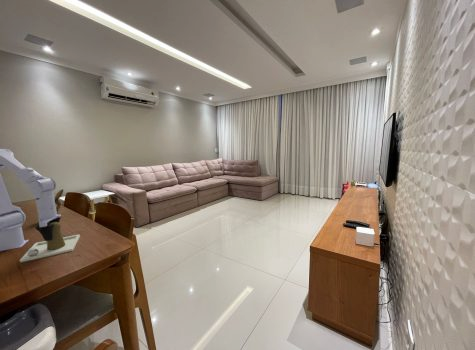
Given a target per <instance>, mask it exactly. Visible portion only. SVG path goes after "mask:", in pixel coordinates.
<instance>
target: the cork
mask: <svg viewBox="0 0 475 350" xmlns="http://www.w3.org/2000/svg"><path fill="white" fill-rule="evenodd" d="M49 224H55V225H54V228H53V239H52V240H50V241H47V250H56V249H59V248H62V247H64V246H65V242H64V239H63V237H64V236H63V234H62V231H61V228H62V224H61V223H60V221H59V222H53V223H49Z"/></svg>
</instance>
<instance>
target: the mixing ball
mask: <svg viewBox="0 0 475 350" xmlns="http://www.w3.org/2000/svg"><path fill="white" fill-rule="evenodd" d="M27 252H28V253H27ZM27 252H26V253H27V255H28V256H29V257H32V256H36V255H37V254H38V252H39V251H38V249H35V248H34V249H31V250H29V249H28V250H27Z"/></svg>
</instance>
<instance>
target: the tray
mask: <svg viewBox="0 0 475 350" xmlns="http://www.w3.org/2000/svg"><path fill="white" fill-rule="evenodd" d="M80 234H81V233H80ZM80 234H75V235H74V234H73V235H69V236H65V237H64V236H63V239H64V242H65V246H64V247H62V248H59V249H56V250H47V241H45V240H43V241H39V242H35V243H34V244H33V245H32V246H31V247H30V248H29V249H28V251H29V250H31V249H34V248H35V249H38V251H39V252H38V254H37V255H36V256H32V257H29V256H28V255H27V253H28V251H26V253H25V254H24V255H23V256H21V258H20V259H19V263H25V262H28V261H34V260H37V259H41V258H42V259H43V258H46V257H51V256H55V255H59V254H65V253H69V252H73V251H74V250H75V248H76V245H77V243H78V241H79V239H80V237H81V235H80Z"/></svg>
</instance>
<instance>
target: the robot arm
mask: <svg viewBox="0 0 475 350" xmlns="http://www.w3.org/2000/svg"><path fill="white" fill-rule="evenodd" d="M4 168H7V169H8V170H11V171H12V172H13V173H16V175H15V176H16V177H17V179H19V180H20V181H21V182H23V183H24V184H26V186H28V190H29V192H30V193H31V195H32V197H33V198H34V199H35V205H36V210H37V216H38V225H36V226H35V230H36V231H37V232H39V233H40V235H41V236H42V238H43V241H50V240H52V239H53V228H54V225H55V224H49V223H53V222H59V223H60V220H61V219H62V215H61V214H59V213H58V215H57V211H56V208H57V206H56V205H57V204H55V193H54V191H55V189H56V188H57V183H56V181H55V180H54V179H53V178H52V177H46V176H43V175H42V174H40V173H39V172H37V171H36V170H35V169H34V168H33V167H25V165H23V164H22V163H21V162H19V161H18V160H17V159H16V158H15V155H14V152H13V151H12V150H10V149H8V148H0V171H1V170H2V169H4ZM26 218H27V217H26V214H25V213H24V211H23V210H22V209H21V207H20V206H17V205H13V204H12V201H11V198H10V195H9V193H8V190H7V188H6V185H5V183H4V179H3V177H2V174H1V173H0V252H2V251H7V250H13V249H16V248H22V247H23V246H24V245H25V244H26V243H27V242H29V240H30V239H26V240H25V236H24V232H23V227H22V226H23V225H24V223H25V221H26Z"/></svg>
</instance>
